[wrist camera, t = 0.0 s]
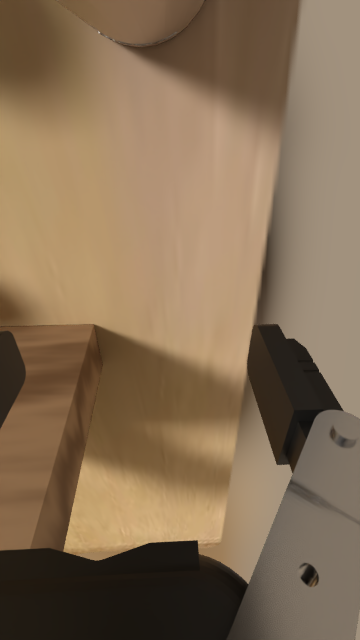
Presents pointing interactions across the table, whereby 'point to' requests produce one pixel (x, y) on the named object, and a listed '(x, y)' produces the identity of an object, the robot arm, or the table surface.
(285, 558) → the robot arm
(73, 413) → the brown wooden block
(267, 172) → the table surface
